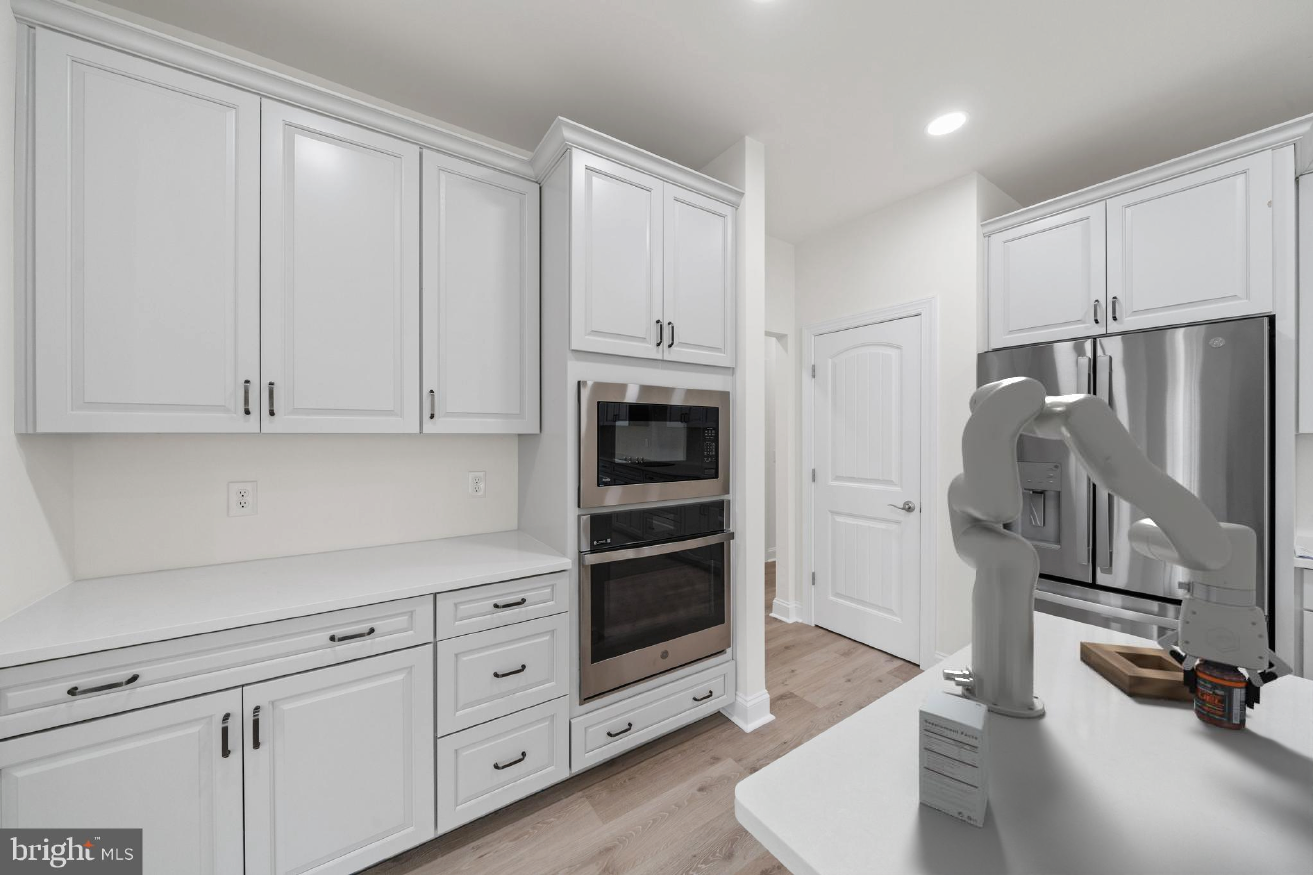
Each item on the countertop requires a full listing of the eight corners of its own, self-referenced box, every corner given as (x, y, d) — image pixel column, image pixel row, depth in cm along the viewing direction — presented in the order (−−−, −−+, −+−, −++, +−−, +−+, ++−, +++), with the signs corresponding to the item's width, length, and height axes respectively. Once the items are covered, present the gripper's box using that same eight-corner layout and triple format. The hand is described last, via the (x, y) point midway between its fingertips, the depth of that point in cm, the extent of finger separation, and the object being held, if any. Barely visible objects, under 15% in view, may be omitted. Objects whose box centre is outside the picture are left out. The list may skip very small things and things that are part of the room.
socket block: (1128, 696, 94) (1128, 675, 94) (1080, 659, 109) (1080, 641, 109) (1235, 708, 90) (1235, 686, 90) (1169, 668, 105) (1169, 649, 105)
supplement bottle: (1185, 714, 87) (1186, 650, 87) (1206, 709, 89) (1207, 646, 89) (1233, 733, 82) (1234, 665, 82) (1254, 728, 83) (1255, 661, 83)
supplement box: (928, 773, 72) (928, 686, 72) (989, 797, 67) (989, 704, 67) (916, 802, 66) (917, 708, 66) (982, 830, 61) (983, 729, 61)
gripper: (1151, 587, 89) (1149, 687, 89) (1308, 612, 77) (1306, 728, 77) (1150, 579, 94) (1149, 673, 94) (1297, 601, 82) (1296, 710, 82)
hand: (1219, 697), depth 85 cm, fingers closed on supplement bottle, 6 cm apart
